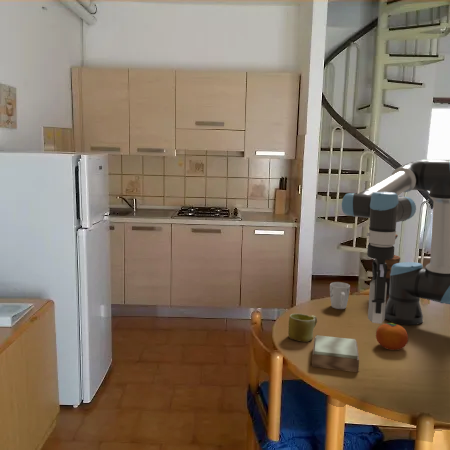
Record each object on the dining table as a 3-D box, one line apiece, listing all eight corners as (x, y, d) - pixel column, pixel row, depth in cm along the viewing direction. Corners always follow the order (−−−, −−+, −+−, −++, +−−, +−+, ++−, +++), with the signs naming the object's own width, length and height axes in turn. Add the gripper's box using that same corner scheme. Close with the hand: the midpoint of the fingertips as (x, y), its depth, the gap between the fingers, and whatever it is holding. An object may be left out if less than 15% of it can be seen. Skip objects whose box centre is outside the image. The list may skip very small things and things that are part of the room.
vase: (393, 293, 218) (398, 232, 213) (400, 301, 207) (405, 236, 202) (370, 292, 219) (374, 231, 214) (375, 300, 208) (380, 236, 203)
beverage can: (365, 317, 139) (367, 280, 137) (380, 317, 140) (382, 279, 138) (371, 323, 135) (374, 284, 133) (387, 323, 135) (389, 284, 133)
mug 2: (352, 312, 191) (354, 289, 189) (332, 312, 191) (333, 289, 189) (345, 303, 202) (347, 282, 200) (327, 303, 202) (328, 281, 200)
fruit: (407, 356, 150) (409, 333, 149) (374, 351, 154) (376, 328, 153) (406, 343, 160) (408, 322, 159) (375, 339, 164) (377, 318, 162)
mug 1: (298, 342, 155) (298, 312, 158) (281, 340, 164) (282, 312, 167) (326, 343, 161) (326, 314, 163) (309, 341, 170) (309, 314, 172)
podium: (356, 352, 152) (357, 338, 151) (358, 372, 139) (359, 356, 138) (314, 348, 155) (314, 334, 154) (312, 366, 142) (312, 351, 141)
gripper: (365, 238, 143) (361, 308, 147) (370, 249, 126) (365, 329, 129) (390, 239, 141) (385, 310, 145) (399, 251, 124) (393, 331, 128)
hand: (376, 319), depth 137 cm, fingers closed on beverage can, 5 cm apart
